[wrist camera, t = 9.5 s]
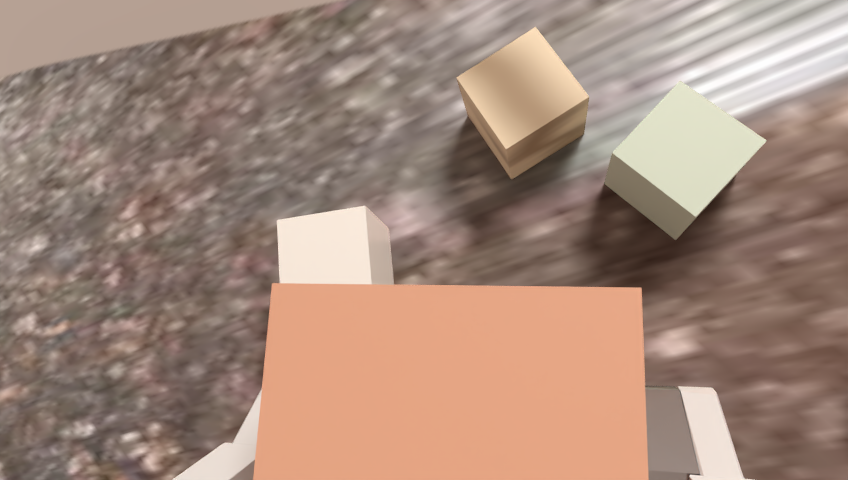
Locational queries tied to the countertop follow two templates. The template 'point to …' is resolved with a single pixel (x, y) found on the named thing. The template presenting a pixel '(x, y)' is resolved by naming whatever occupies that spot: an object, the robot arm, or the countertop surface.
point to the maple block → (524, 102)
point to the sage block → (680, 159)
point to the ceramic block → (335, 248)
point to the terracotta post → (453, 383)
